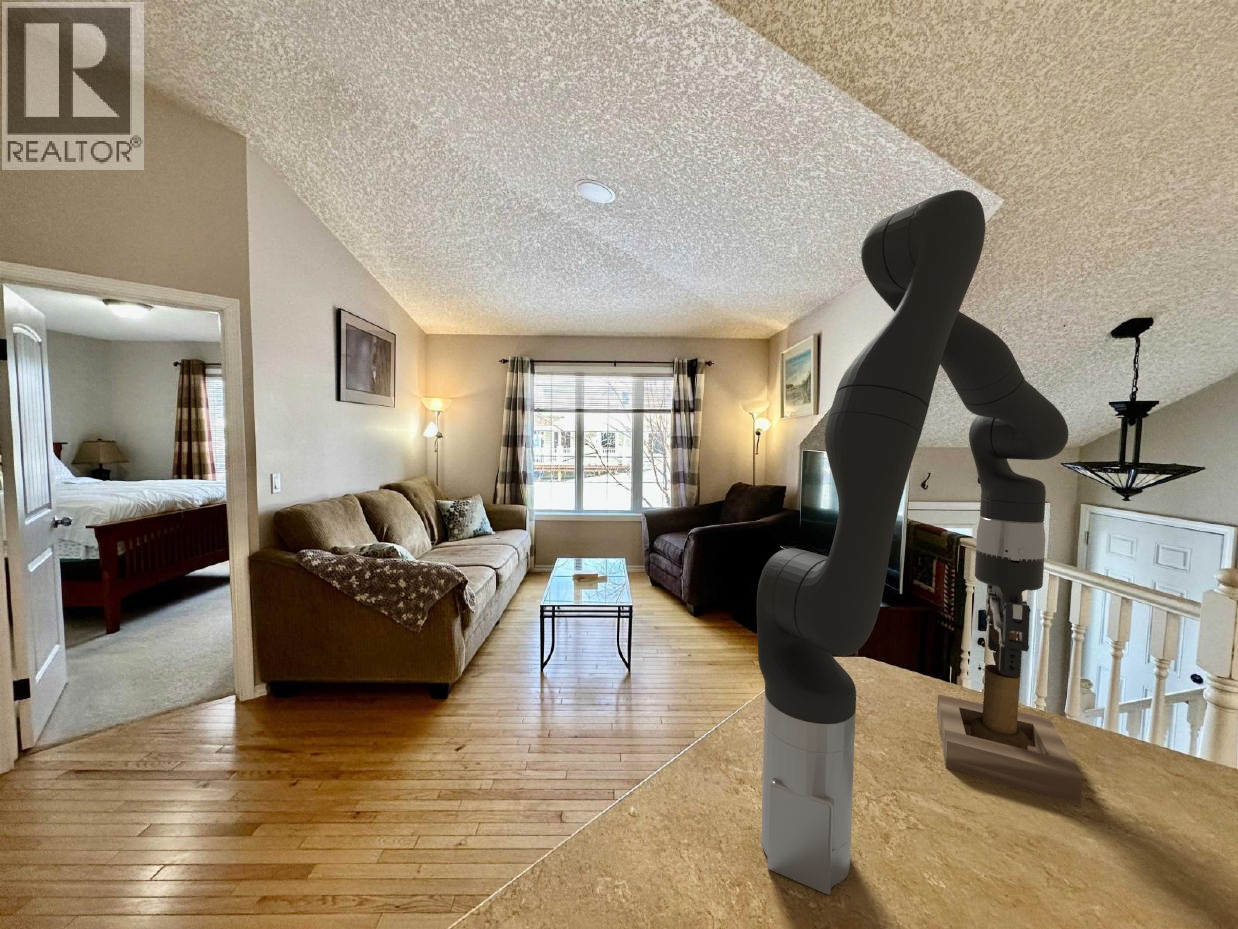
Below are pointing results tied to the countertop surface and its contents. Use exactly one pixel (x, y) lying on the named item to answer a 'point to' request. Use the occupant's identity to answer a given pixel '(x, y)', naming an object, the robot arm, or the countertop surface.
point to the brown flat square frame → (1009, 753)
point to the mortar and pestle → (999, 705)
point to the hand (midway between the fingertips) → (1002, 662)
